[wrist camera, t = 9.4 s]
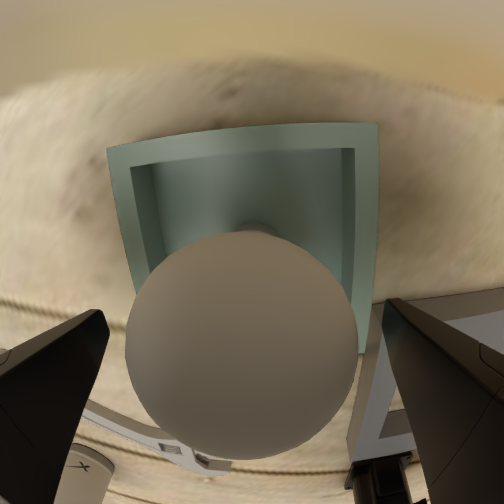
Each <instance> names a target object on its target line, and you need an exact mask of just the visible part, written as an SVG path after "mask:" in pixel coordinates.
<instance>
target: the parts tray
mask: <svg viewBox="0 0 504 504" xmlns="http://www.w3.org/2000/svg"><path fill="white" fill-rule="evenodd" d="M106 150H107V157H108V164H109V170H110V177H111V183H112V188H113V194H114V200H115V205H116V210H117V215H118V220H119V225H120V230H121V234H122V239H123V243H124V248H125V252H126V256H127V260H128V264H129V268H130V272H131V276H132V280H133V284H134V287H135V291H136V295H137V293H138V291H139V290H140V288H141V287H142V285H143V284H144V282H145V281H146V279H147V278H148V277H149V275H150V274H151V273H152V271H153V270H154V269H155V268H156V267H157V266H158V265H159V264H160V263H161V262H163V261H164V260H165V259H166V258H167V257H168V256H169V255H171V254H172V253H174V252H176V251H178V250H180V249H182V248H183V247H185V246H187V245H189V244H191V243H193V242H195V241H197V240H199V239H202V238H205V237H209V236H212V235H215V234H219V233H229V232H234V231H235V229H237V228H238V227H239V226H241V225H243V224H246V223H249V222H260V223H263V224H266V225H268V226H270V227H271V228H273V229H274V230H275V231H276V233H277V234H278V236H279V237H280V238H281V239H284V240H287V241H289V242H291V243H293V244H295V245H297V246H298V247H300V248H302V249H304V250H306V251H307V252H308V253H309V254H311V255H312V256H313V257H314V258H316V259H317V260H318V261H319V262H321V263H322V264H323V265H324V266H325V267H326V268H327V269H328V270H329V271H330V272H331V273H332V274H333V276H334V277H335V278H336V280H337V281H338V282H339V283H340V285H341V286H342V287H343V289H344V292H345V294H346V296H347V298H348V300H349V303H350V305H351V307H352V310H353V312H354V315H355V319H356V325H357V331H358V344H359V351H358V354H359V353H365V347H366V341H367V334H368V327H369V320H370V312H371V304H372V295H373V285H374V275H375V263H376V249H377V233H378V208H379V143H378V123H357V122H324V123H292V124H273V125H259V126H247V127H236V128H226V129H217V130H209V131H201V132H193V133H186V134H179V135H173V136H167V137H161V138H155V139H149V140H144V141H138V142H133V143H128V144H123V145H118V146H114V147H109V148H106Z"/></svg>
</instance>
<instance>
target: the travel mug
mask: <svg viewBox="0 0 504 504" xmlns="http://www.w3.org/2000/svg"><path fill="white" fill-rule="evenodd" d="M113 472H114V467H113V465H112V464H111V462H110V461H109V460H108V459H106V458H105V457H104V456H102V455H101V454H99V453H98V452H96V451H94V450H92V449H90V448H88V447H85V446H82V445H78V444H72V445H71V448H70V451H69V454H68V457H67V460H66V463H65V466H64V469H63V472H62V475H61V480H60V483H59V487H58V490H57V494H56V497H55V501H54V504H102V501H103V498H104V496H105V493H106V490H107V488H108V485H109V482H110V479H111V477H112V474H113Z"/></svg>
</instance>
